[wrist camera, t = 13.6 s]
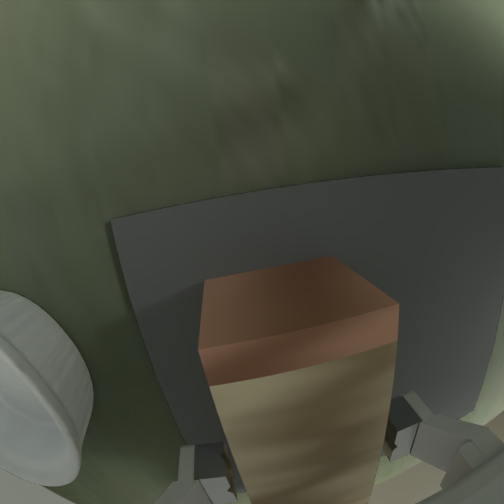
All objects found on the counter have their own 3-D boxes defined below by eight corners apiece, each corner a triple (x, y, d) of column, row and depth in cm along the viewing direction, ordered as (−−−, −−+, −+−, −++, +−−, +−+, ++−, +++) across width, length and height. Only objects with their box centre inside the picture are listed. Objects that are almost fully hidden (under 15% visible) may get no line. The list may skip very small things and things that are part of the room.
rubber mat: (502, 167, 11) (507, 167, 11) (470, 407, 15) (473, 410, 15) (114, 218, 10) (110, 220, 9) (213, 490, 14) (213, 495, 13)
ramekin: (-49, 273, 9) (-103, 301, 5) (84, 279, 10) (27, 329, 6) (-1, 412, 11) (-31, 455, 7) (124, 440, 12) (108, 505, 8)
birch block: (269, 544, 9) (198, 349, 6) (257, 479, 13) (204, 280, 10) (362, 520, 9) (399, 303, 6) (336, 460, 14) (331, 255, 11)
